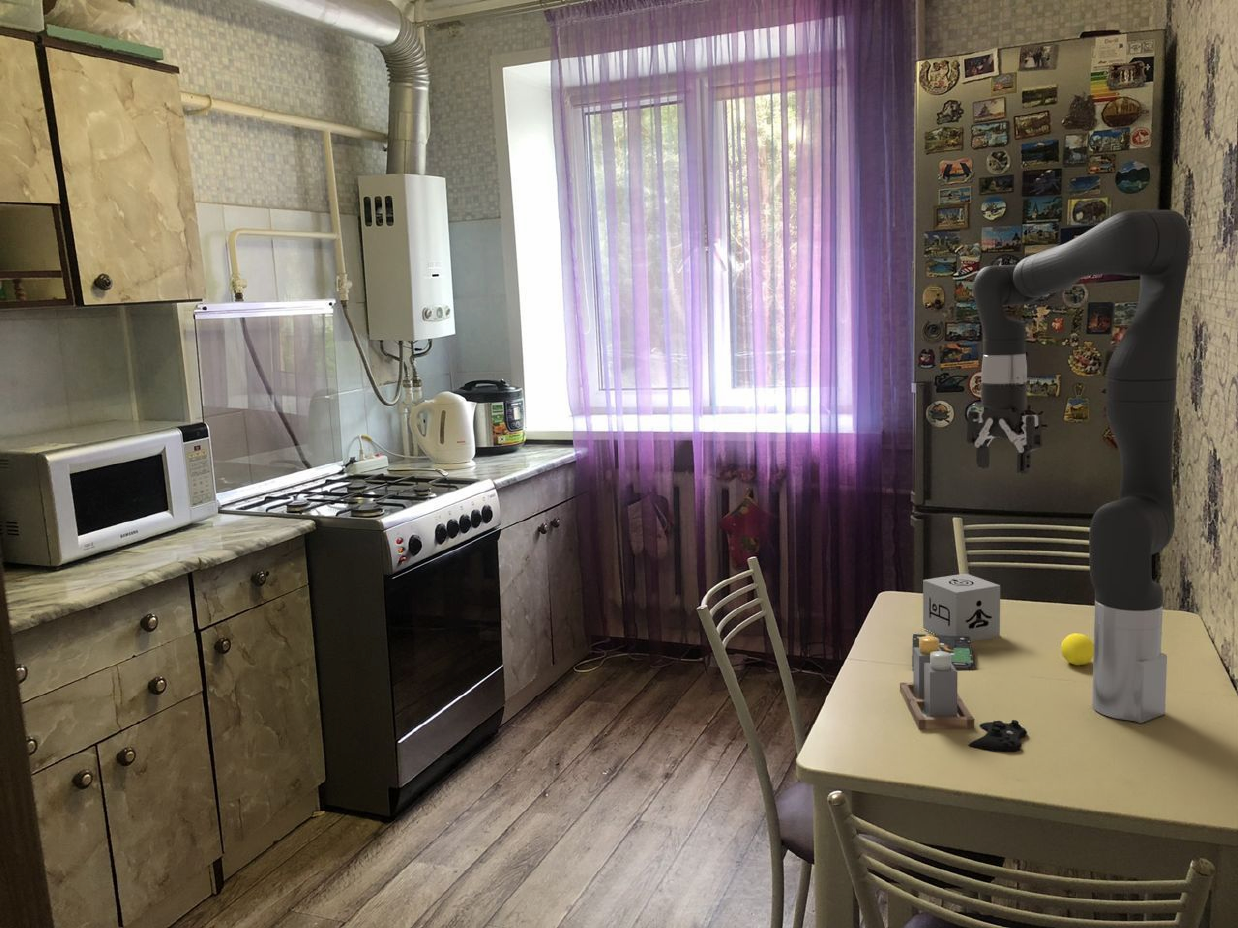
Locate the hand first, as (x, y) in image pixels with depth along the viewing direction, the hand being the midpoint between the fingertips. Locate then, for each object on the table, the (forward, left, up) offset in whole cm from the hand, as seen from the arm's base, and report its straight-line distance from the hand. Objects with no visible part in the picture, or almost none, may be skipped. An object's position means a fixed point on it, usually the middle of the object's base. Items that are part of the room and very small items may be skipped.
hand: (1002, 470), depth 181 cm
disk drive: (+2, +13, -34) cm, 36 cm away
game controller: (-28, +34, -34) cm, 55 cm away
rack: (-15, +33, -33) cm, 49 cm away
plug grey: (-18, +35, -32) cm, 51 cm away
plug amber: (-12, +31, -32) cm, 46 cm away
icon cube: (+10, -1, -33) cm, 35 cm away
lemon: (-13, -4, -33) cm, 36 cm away
